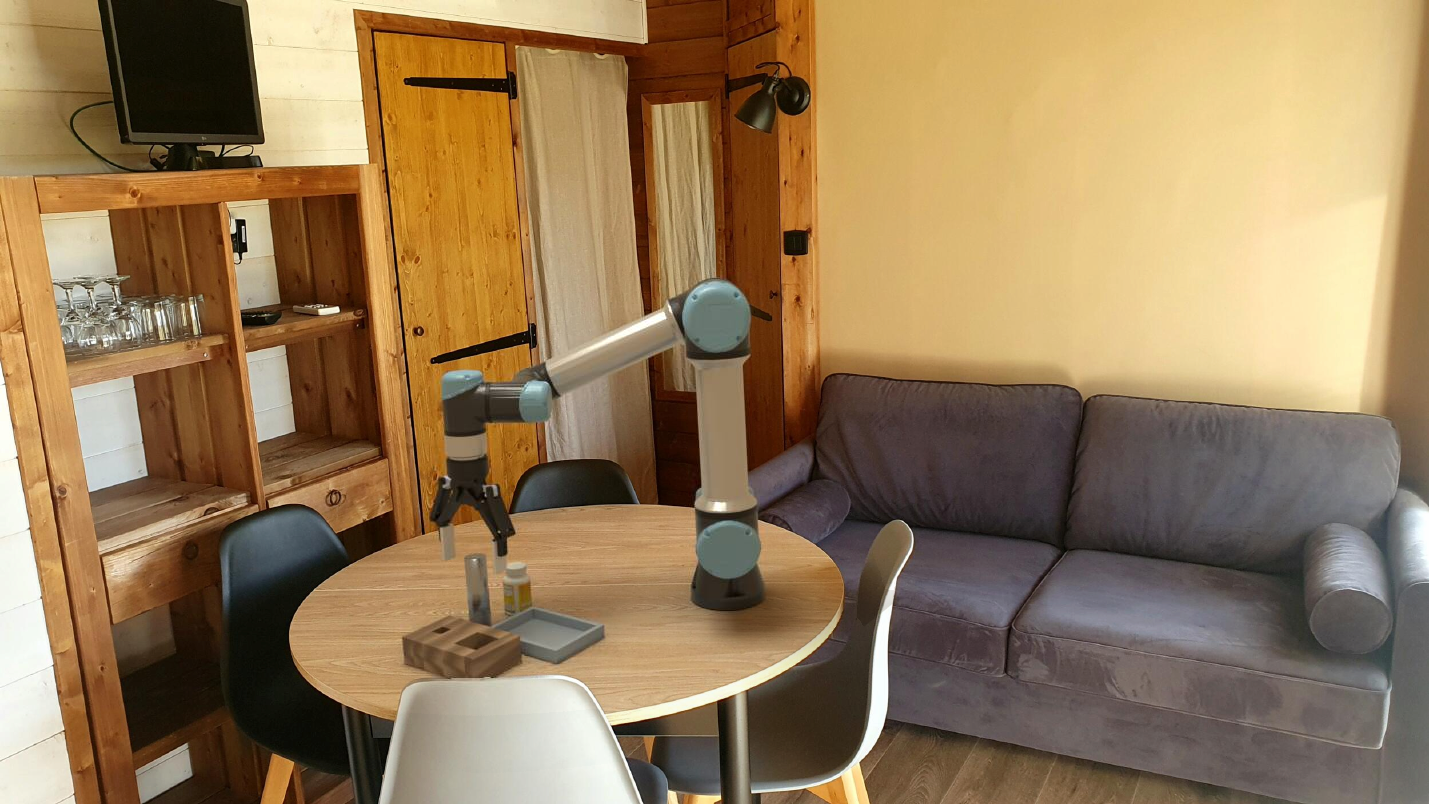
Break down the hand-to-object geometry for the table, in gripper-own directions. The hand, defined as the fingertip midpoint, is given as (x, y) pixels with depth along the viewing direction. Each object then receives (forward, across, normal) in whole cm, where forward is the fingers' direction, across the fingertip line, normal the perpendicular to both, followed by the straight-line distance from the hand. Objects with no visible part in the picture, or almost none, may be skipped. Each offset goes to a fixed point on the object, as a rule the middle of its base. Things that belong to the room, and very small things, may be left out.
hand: (474, 565), depth 194 cm
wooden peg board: (+13, -7, +11) cm, 19 cm away
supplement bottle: (+13, +1, -11) cm, 18 cm away
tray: (+13, -13, -4) cm, 19 cm away
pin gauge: (+13, 0, 0) cm, 13 cm away
